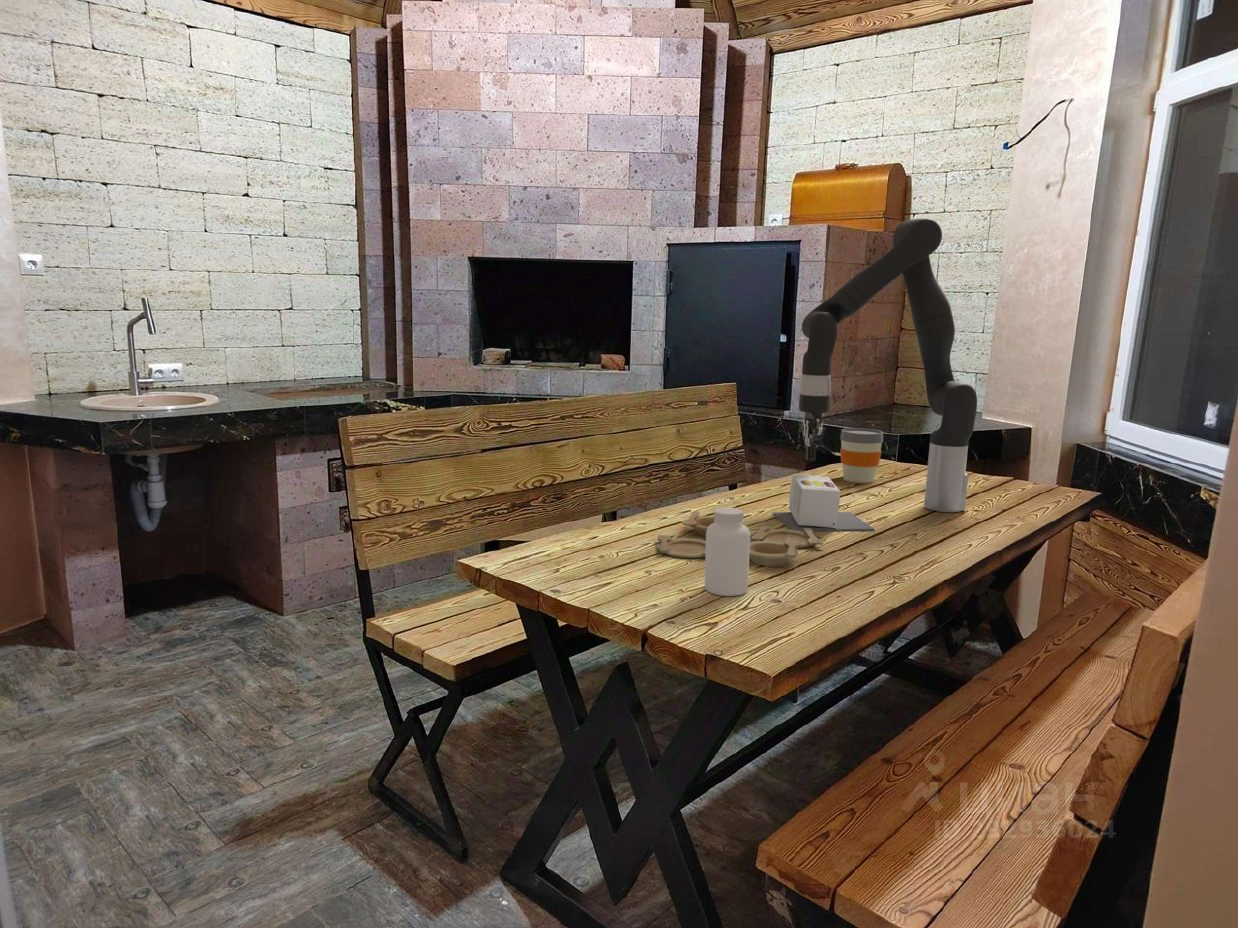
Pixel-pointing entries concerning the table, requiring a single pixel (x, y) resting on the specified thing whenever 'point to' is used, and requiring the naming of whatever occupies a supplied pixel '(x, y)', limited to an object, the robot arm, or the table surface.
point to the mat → (844, 523)
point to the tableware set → (764, 549)
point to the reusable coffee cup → (860, 453)
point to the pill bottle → (727, 553)
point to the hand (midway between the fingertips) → (810, 460)
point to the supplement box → (814, 501)
